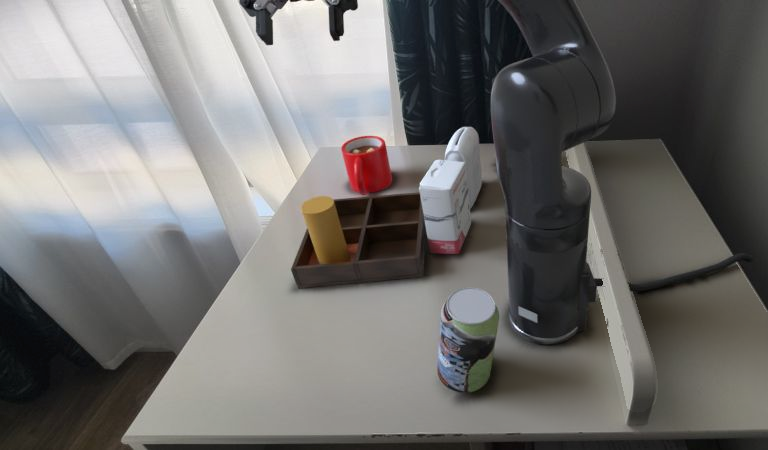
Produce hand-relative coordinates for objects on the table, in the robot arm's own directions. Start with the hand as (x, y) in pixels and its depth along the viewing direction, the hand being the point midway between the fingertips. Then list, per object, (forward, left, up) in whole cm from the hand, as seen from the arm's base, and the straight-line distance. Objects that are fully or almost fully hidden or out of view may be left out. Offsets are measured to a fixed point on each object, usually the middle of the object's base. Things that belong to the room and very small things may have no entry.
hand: (301, 39), depth 62 cm
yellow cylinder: (+1, +8, -30) cm, 31 cm away
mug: (-1, -14, -31) cm, 34 cm away
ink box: (-16, +4, -31) cm, 35 cm away
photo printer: (-19, -8, -31) cm, 37 cm away
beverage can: (-18, +31, -31) cm, 47 cm away
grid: (-3, +4, -31) cm, 31 cm away
